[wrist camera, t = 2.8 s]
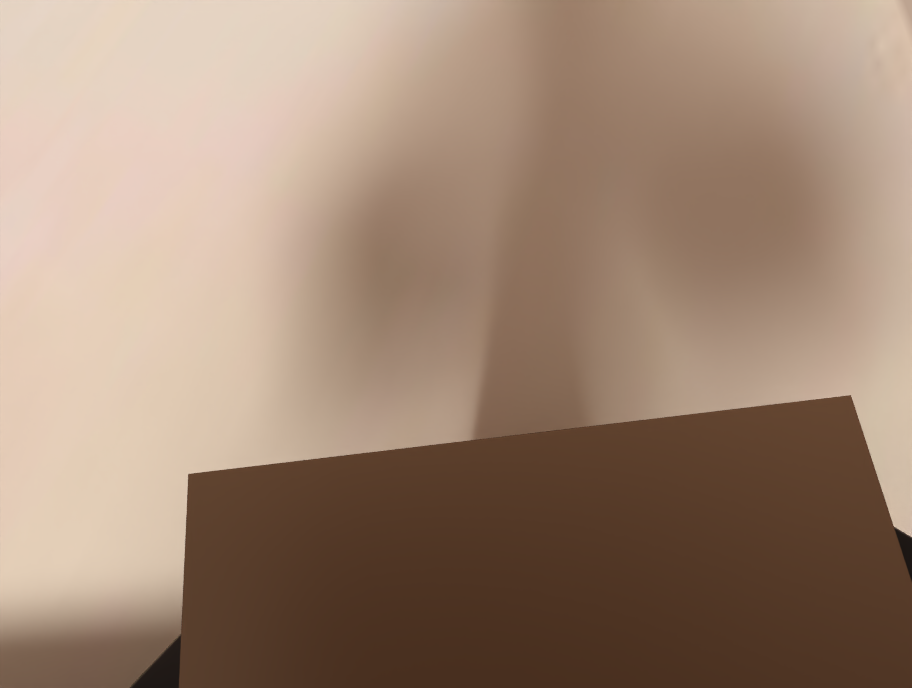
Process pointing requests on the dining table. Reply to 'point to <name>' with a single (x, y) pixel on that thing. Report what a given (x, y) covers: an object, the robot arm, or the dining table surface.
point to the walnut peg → (557, 562)
